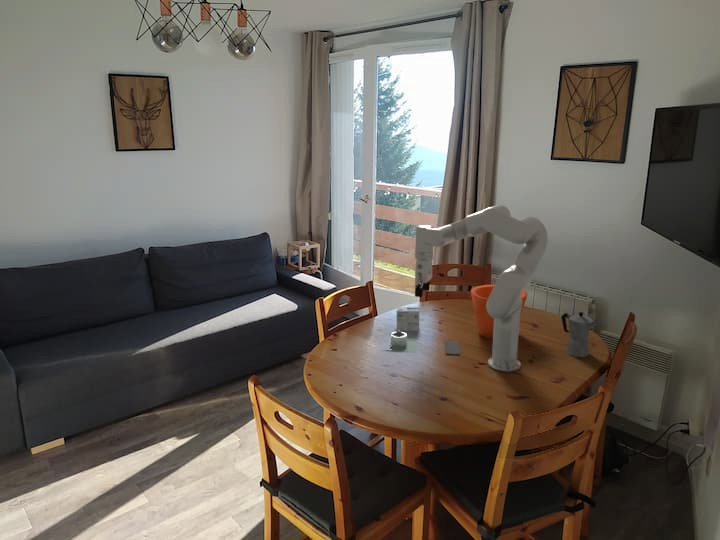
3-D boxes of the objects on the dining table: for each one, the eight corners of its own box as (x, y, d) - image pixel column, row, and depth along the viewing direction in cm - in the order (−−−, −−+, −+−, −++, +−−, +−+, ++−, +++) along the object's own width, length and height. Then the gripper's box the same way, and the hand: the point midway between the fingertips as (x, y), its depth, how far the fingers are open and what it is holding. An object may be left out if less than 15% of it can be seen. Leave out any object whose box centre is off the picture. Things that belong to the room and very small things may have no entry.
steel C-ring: (406, 347, 222) (406, 337, 220) (390, 346, 223) (390, 337, 221) (407, 341, 228) (407, 331, 227) (391, 340, 229) (391, 331, 228)
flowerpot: (531, 343, 226) (534, 300, 221) (474, 343, 227) (476, 301, 222) (516, 323, 250) (518, 284, 246) (464, 324, 251) (466, 285, 246)
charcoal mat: (459, 355, 215) (459, 354, 215) (426, 353, 217) (426, 352, 217) (458, 342, 229) (458, 341, 229) (426, 341, 231) (426, 340, 231)
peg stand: (416, 354, 217) (416, 338, 215) (378, 352, 219) (378, 337, 217) (417, 340, 232) (417, 325, 230) (382, 338, 234) (382, 324, 233)
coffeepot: (598, 355, 212) (603, 314, 208) (585, 361, 207) (589, 318, 203) (566, 343, 225) (569, 304, 220) (552, 348, 220) (555, 308, 215)
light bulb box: (419, 327, 247) (419, 306, 244) (419, 333, 241) (419, 311, 238) (396, 327, 248) (396, 306, 246) (396, 332, 242) (396, 310, 239)
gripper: (426, 260, 207) (424, 300, 212) (438, 251, 222) (436, 289, 227) (408, 258, 210) (407, 298, 215) (421, 249, 225) (420, 286, 230)
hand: (422, 293), depth 221 cm, fingers open, 9 cm apart
